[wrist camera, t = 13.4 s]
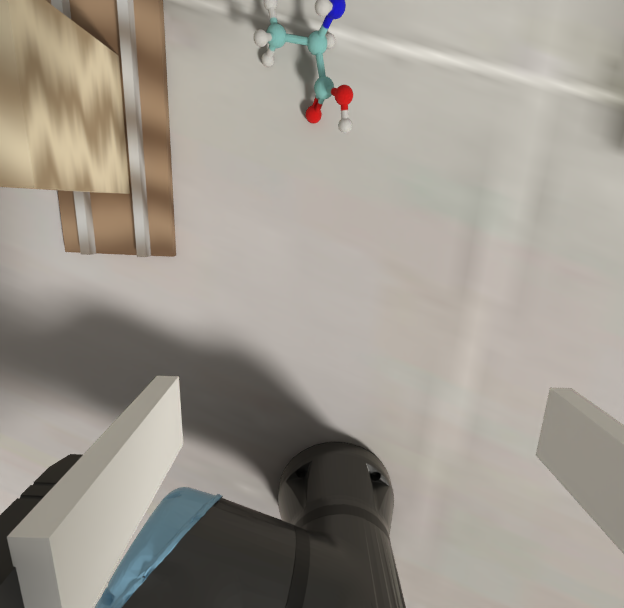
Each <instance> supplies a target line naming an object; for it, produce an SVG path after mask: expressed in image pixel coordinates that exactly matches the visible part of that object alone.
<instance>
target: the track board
mask: <svg viewBox="0 0 624 608" xmlns="http://www.w3.org/2000/svg"><path fill="white" fill-rule="evenodd" d="M46 1H47V2H48V3H50V4H51V5H52V6H54V7H55V8H56V9H58V10H59V11H60V12H62V13H63V14H64V15H66V16H67V17H68V18H70V19H71V20H72V21H73V22H75V23H76V24H77V25H79V26H80V27H81V28H83V29H84V30H85V31H87V32H88V33H89V34H91V35H92V36H93V37H95V38H96V39H97V40H99V41H100V42H101V43H103V44H104V45H105V46H106V47H108V48H109V49H110V50H112V51H113V52H114V53H116V54H117V55H118V56H119V63H120V76H121V88H122V101H123V113H124V126H125V138H126V151H127V163H128V176H129V188H130V194H122V193H99V192H81V191H64V190H57V191H58V198H59V206H60V214H61V222H62V230H63V237H64V245H65V252H79V253H81V254H87V255H91V254H95V253H102V254H125V255H137V257H148V256H171V257H173V256H176V244H175V225H174V205H173V186H172V167H171V147H170V128H169V109H168V89H167V70H166V51H165V31H164V12H163V0H46Z"/></svg>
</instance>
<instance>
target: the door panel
mask: <svg viewBox="0 0 624 608" xmlns="http://www.w3.org/2000/svg"><path fill="white" fill-rule="evenodd" d="M0 187H11V188H28V189H46V190H64V191H81V192H99V193H122V194H130V188H129V176H128V163H127V151H126V138H125V126H124V113H123V101H122V88H121V76H120V63H119V56H118V55H117V54H116V53H114V52H113V51H112V50H110V49H109V48H108V47H106V46H105V45H104V44H103V43H101V42H100V41H99V40H97V39H96V38H95V37H93V36H92V35H91V34H89V33H88V32H87V31H85V30H84V29H83V28H81V27H80V26H79V25H77V24H76V23H75V22H73V21H72V20H71V19H70V18H68V17H67V16H66V15H64V14H63V13H62V12H60V11H59V10H58V9H56V8H55V7H54V6H52V5H51V4H50V3H48V2H47V1H46V0H0Z"/></svg>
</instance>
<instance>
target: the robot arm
mask: <svg viewBox="0 0 624 608" xmlns="http://www.w3.org/2000/svg"><path fill="white" fill-rule="evenodd" d="M182 446H183V432H182V417H181V402H180V387H179V376H156V377H155V378H154V380H153V381H152V382H151V383H150V384H149V385H148V386H147V387H146V388H145V389H144V390H143V391H142V392H141V393H140V395H139V396H138V397H137V398H136V399H135V400H134V401H133V402H132V403H131V404H130V405H129V406H128V407H127V408H126V410H125V411H124V412H123V413H122V414H121V415H120V416H119V417H118V418H117V419H116V420H115V421H114V422H113V423H112V425H111V426H110V427H109V428H108V429H107V430H106V431H105V432H104V433H103V434H102V435H101V436H100V437H99V439H98V440H97V441H96V442H95V443H94V444H93V445H92V446H91V447H90V448H89V449H88V450H87V451H86V452H85V454H84V455H76V454H70V455H68V456H67V457H65V458H63V459H62V460H60V461H58V462H57V463H55V464H53V465H52V466H50V467H49V468H48V469H47V470H46V471H45V472H44V473H43V474H42V475H41V476H40V477H39V478H38V479H37V480H36V481H35V482H34V484H33V485H30V486H29V487H28V488H27V489H26V490H25V491H24V492H23V493H22V494H21V497H20V498H19V499H18V498H17V499H16V500H15V501H14V502H13V503H12V504H11V505H10V506H9V507H8V508H7V509H6V510H5V511H4V512H3V513H2V514H1V515H0V608H93V607H94V605H95V603H96V601H97V599H98V598H99V596H100V594H101V592H102V590H103V589H104V587H105V585H106V583H107V581H108V579H109V578H110V576H111V574H112V572H113V570H114V569H115V567H116V565H117V563H118V561H119V560H120V558H121V556H122V554H123V552H124V551H125V549H126V547H127V545H128V543H129V542H130V540H131V538H132V536H133V534H134V533H135V531H136V529H137V527H138V525H139V523H140V522H141V520H142V518H143V516H144V514H145V513H146V511H147V509H148V507H149V505H150V504H151V502H152V500H153V498H154V496H155V495H156V493H157V491H158V489H159V487H160V486H161V484H162V482H163V480H164V478H165V476H166V475H167V473H168V471H169V469H170V467H171V466H172V464H173V462H174V460H175V458H176V457H177V455H178V453H179V451H180V449H181V448H182ZM536 456H537V457H538V458H539V459H540V460H541V462H542V463H543V464H544V465H545V466H546V467H547V468H548V469H549V471H550V472H551V473H552V474H553V475H554V476H555V477H556V478H557V480H558V481H559V482H560V483H561V484H562V485H563V486H564V487H565V489H566V490H567V491H568V492H569V493H570V494H571V495H572V496H573V498H574V499H575V500H576V501H577V502H578V503H579V504H580V505H581V507H582V508H583V509H584V510H585V511H586V512H587V513H588V514H589V516H590V517H591V518H592V519H593V520H594V521H595V522H596V523H597V525H598V526H599V527H600V528H601V529H602V530H603V531H604V532H605V534H606V535H607V536H608V537H609V538H610V539H611V540H612V541H613V543H614V544H615V545H616V546H617V547H618V548H619V549H620V550H621V552H622V553H623V554H624V425H623V424H621V423H620V422H618V421H617V420H616V419H614V418H613V417H611V416H610V415H609V414H607V413H606V412H604V411H603V410H601V409H600V408H599V407H597V406H596V405H594V404H593V403H592V402H590V401H589V400H587V399H586V398H585V397H583V396H582V395H580V394H579V393H577V392H576V391H575V390H573V389H572V388H550V390H549V395H548V399H547V404H546V409H545V414H544V418H543V423H542V428H541V433H540V437H539V442H538V447H537V452H536ZM222 497H223V496H221V495H219V494H217V495H212V494H209V493H205V492H202V491H199V490H196V489H192V488H189V487H181V488H177V489H175V490H173V491H172V492H170V493H169V494H168V495H167V496H166V497H165V498H164V499H163V500H162V501H161V502H160V504H159V505H158V506H157V508H156V509H155V510H154V512H153V513H152V515H151V516H150V517H149V519H148V520H147V522H146V523H145V525H144V526H143V528H142V529H141V531H140V532H139V534H138V535H137V537H136V539H135V540H134V542H133V543H132V545H131V546H130V548H129V550H128V551H127V553H126V554H125V556H124V558H123V559H122V561H121V563H120V564H119V566H118V567H117V569H116V571H115V573H114V574H113V576H112V578H111V580H110V581H109V584H108V587H107V588H106V589H105V591H104V593H103V595H102V597H101V598H100V600H99V601H98V603H97V604H96V606H95V608H406V606H405V602H404V598H403V594H402V589H401V585H400V581H399V577H398V572H397V568H396V564H395V560H394V555H393V551H392V547H391V543H390V538H389V534H390V527H391V521H392V514H393V507H394V494H393V489H392V485H391V481H390V478H389V475H388V472H387V470H386V468H385V467H384V465H383V464H382V463H381V461H380V460H379V459H378V458H377V457H376V456H374V455H373V454H372V453H370V452H369V451H367V450H365V449H363V448H361V447H359V446H356V445H352V444H348V443H340V442H331V443H323V444H319V445H316V446H313V447H310V448H308V449H306V450H304V451H302V452H301V453H299V454H298V455H297V456H296V457H294V458H293V459H292V460H291V461H290V463H289V464H288V465H287V467H286V468H285V470H284V472H283V474H282V477H281V480H280V486H279V494H278V505H279V512H280V515H281V519H282V520H280V519H277V518H274V517H272V516H269V515H266V514H264V513H261V512H258V511H256V510H253V509H250V508H247V507H245V506H242V505H239V504H237V503H234V502H231V501H229V500H226V499H223V498H222Z"/></svg>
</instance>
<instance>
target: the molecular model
mask: <svg viewBox="0 0 624 608" xmlns="http://www.w3.org/2000/svg"><path fill="white" fill-rule="evenodd" d="M345 5H346V4H345V0H317V1H316V3H315V10H316V13H317V14H318V15H319V16H322V17H323V16H326V17H325V20H324V22H323V24H322V26H321V28H320V30H319V31H314V32H312V33H311V34H310V36H309V38H308V37H303V36H297V35H292V34H286V31H285V29H284V28H283V26H282V25H280V24H278V23H277V17H276V11H275V9H276V7H277V0H264V6H265V8H266V9H267V10H268V11H269V17H270V23H271V25H270V26H269V27H268V29H267V31H266V32H265V31H264V30H262V29H259V30H257V31H256V32H255V33H254V41H255V43H256V45H258V46H260V47H263V46H265V45H266V44H267V42H268V43H269V44H270V45H269V48H268V50H267V52H265V53H264V54H263V55H262V63H263V65H264V66H266V67H271V66H272V65H273V63H274V57H273V54H274V51H275V48H280V47H282V46H283V45H284V43H285V42H290V43H295V44H301V45H307V46H308V49H309V51H310V52H311V53H312V54H313V55H316V60H317V67H318V73H319V79H317V81H316V82H315V85H314V90H315V93H316V97H315V99H314V102H313V105H312V106H310V107H308V109H307V110H306V119H307V120H308V121H309V122H310V123H317V122H318V121H319V120H320V119H321V110H320V109H321V107H322V104H323V102H324V99H327V98H329V97H330V96H331V95H333V96H335V100H336V101H337V103H338V104H339V105H341V120H340V121H339V124H338V127H339V129H340V131H341V132H344V133H347V132H349V131H350V130H351V128H352V122H351V120H350V119H349V118H348V104H349V103H350V102H351V101H352V98H353V92H352V89H351V88H350V87H349V86H348V85H341V86H339V87H338V88H334V84H333V82H332V80H331V79H330V78H328V77H326V75H325V69H324V62H323V55H322V54H323V53H324V52H325V50H326V48H328V49H330V48H332V47H333V46H334V44H335V37H334V35H333V34H331V33H327V34H326V32H327V30H328V28H329V26H330V24H331V22H332V20H333V19H338V18H340V17H341V16H342V15H343V13H344V11H345Z"/></svg>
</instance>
